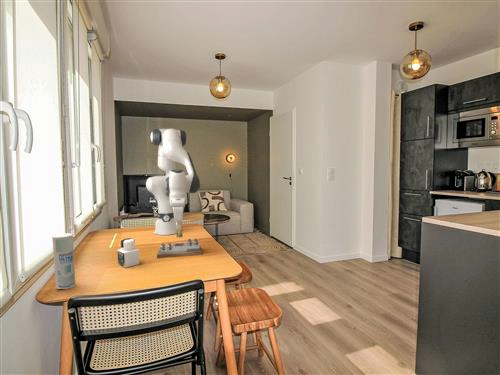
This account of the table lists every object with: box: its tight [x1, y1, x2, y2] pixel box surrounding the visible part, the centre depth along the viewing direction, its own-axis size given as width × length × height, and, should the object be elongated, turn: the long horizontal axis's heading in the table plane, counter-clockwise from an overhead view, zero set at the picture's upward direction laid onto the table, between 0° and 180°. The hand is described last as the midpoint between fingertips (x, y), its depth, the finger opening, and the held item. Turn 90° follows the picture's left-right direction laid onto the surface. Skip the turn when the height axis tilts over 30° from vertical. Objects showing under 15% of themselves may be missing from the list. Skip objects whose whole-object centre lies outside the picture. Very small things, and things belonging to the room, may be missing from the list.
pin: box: [176, 220, 184, 239], centre depth 152 cm, size 3×3×10 cm
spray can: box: [52, 232, 76, 290], centre depth 111 cm, size 6×6×20 cm
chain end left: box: [158, 242, 187, 254], centre depth 152 cm, size 7×14×4 cm, turn 103°
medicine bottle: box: [117, 237, 140, 269], centre depth 136 cm, size 7×7×12 cm
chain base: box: [156, 245, 203, 259], centre depth 153 cm, size 11×22×2 cm, turn 103°
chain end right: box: [172, 238, 200, 252], centre depth 154 cm, size 7×14×5 cm, turn 103°
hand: (179, 227), depth 152 cm, fingers closed on pin, 3 cm apart
